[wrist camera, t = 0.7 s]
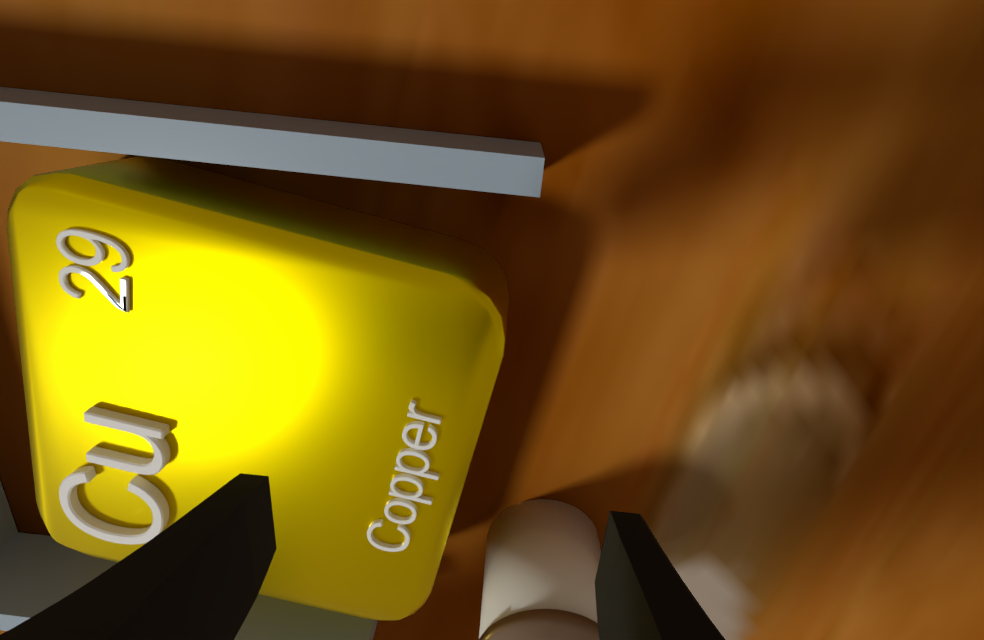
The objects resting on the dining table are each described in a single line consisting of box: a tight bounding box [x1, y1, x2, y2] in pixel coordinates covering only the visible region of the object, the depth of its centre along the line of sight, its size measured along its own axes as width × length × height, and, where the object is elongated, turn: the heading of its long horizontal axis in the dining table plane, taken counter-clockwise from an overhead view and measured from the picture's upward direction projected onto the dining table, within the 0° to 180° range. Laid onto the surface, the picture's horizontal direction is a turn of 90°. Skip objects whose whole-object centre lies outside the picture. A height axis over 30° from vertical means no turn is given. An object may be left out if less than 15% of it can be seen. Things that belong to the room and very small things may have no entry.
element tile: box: [7, 156, 509, 620], centre depth 20 cm, size 15×15×5 cm
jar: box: [479, 499, 601, 640], centre depth 21 cm, size 5×5×6 cm
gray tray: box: [0, 87, 545, 640], centre depth 20 cm, size 21×24×4 cm
